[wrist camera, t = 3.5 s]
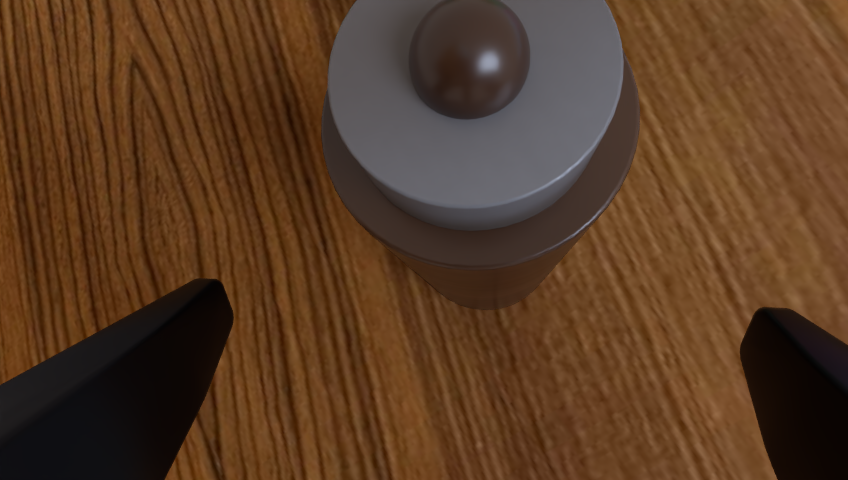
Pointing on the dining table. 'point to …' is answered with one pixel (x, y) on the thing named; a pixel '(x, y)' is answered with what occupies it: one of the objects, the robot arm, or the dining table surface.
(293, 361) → the dining table surface
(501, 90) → the pepper mill
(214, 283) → the robot arm
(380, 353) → the dining table surface
